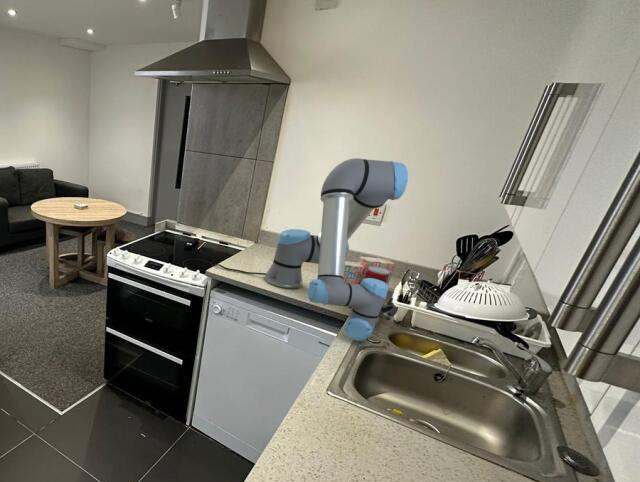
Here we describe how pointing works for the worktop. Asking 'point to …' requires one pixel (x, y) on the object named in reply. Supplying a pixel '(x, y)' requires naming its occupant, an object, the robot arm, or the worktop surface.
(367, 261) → the stack of blocks
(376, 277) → the canned food
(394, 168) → the robot arm
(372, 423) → the worktop surface
